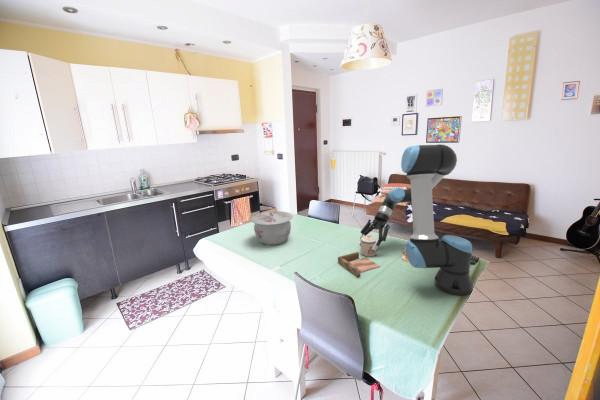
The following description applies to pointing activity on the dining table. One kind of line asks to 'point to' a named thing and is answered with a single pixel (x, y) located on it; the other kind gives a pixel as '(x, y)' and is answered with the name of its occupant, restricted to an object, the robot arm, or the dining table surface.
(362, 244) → the teacup with lid
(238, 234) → the dining table surface
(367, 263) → the low wooden tray
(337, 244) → the dining table surface
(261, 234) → the chamber pot
